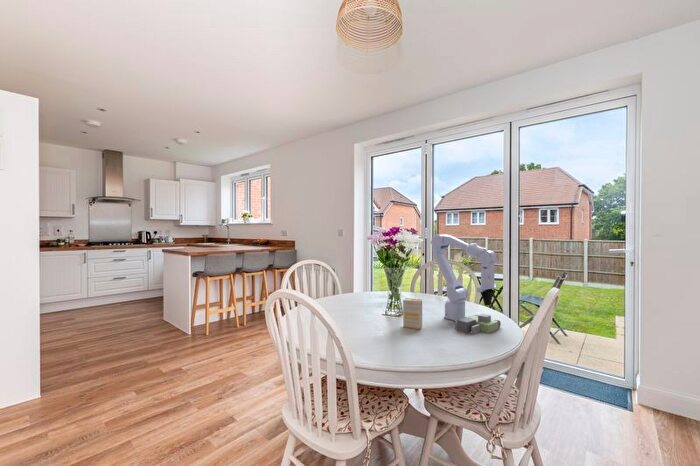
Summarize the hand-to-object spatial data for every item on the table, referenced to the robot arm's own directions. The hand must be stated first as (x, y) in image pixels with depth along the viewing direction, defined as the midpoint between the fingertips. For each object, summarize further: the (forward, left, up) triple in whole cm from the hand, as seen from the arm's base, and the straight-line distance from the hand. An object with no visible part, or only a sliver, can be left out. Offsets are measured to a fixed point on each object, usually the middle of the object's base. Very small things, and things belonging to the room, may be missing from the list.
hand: (487, 305), depth 144 cm
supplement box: (-21, -28, -10) cm, 36 cm away
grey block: (-3, -12, -10) cm, 16 cm away
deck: (-1, -6, -10) cm, 11 cm away
